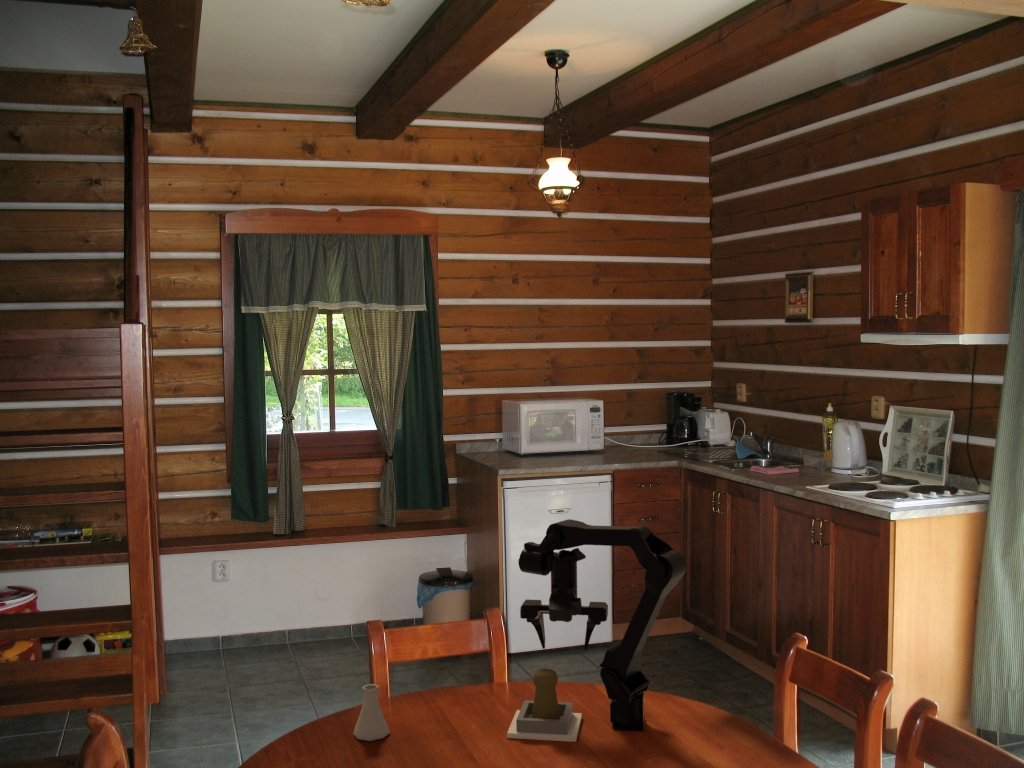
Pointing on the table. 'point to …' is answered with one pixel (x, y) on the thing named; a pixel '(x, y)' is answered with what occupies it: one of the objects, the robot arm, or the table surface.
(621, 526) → the robot arm
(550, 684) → the cork
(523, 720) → the socket
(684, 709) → the table surface
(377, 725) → the flask
